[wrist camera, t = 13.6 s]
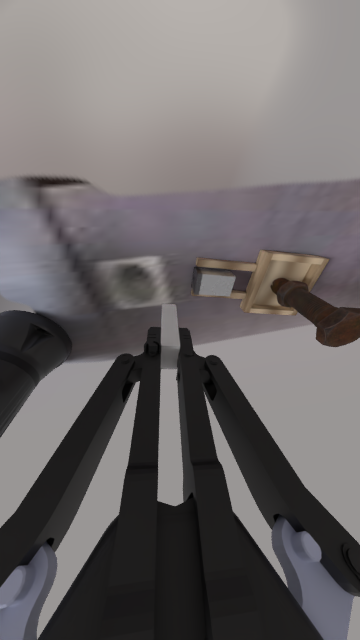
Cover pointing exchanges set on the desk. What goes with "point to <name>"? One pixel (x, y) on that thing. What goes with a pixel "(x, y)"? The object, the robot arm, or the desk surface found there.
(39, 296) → the desk surface
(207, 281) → the grey rectangular block
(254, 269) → the socket
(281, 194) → the desk surface
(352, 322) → the bolt
